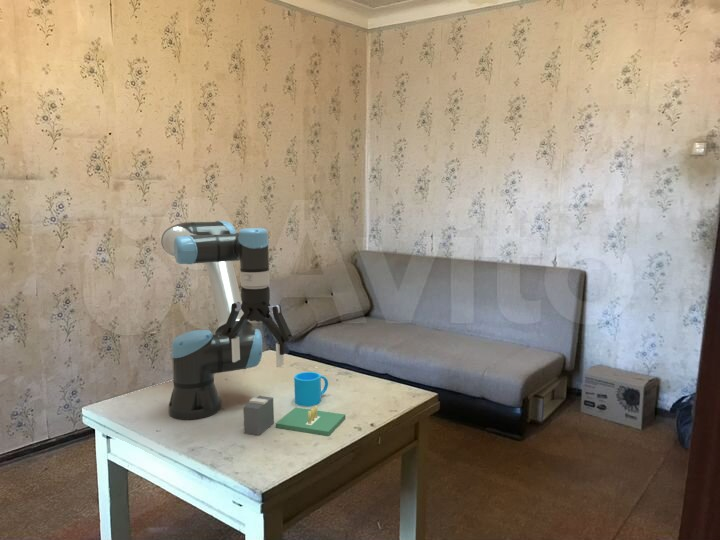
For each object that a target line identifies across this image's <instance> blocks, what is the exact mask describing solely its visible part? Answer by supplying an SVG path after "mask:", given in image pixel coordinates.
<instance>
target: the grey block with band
mask: <svg viewBox="0 0 720 540" xmlns="http://www.w3.org/2000/svg"><path fill="white" fill-rule="evenodd" d="M242 411H243V430H244V431H243V434H245V435H252V436H257V437H259V436H261V434H263V433H264V432H265V431H267V430H268V429H269V428H271V426H273V425H274V424H275V415H274V414H275V413H274V412H275V411H274V397H270V396H264V395H258V396H257V397H252V398H250V399H249V402H248V403H247V404H245V405H243V409H242Z"/></svg>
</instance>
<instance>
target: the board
mask: <svg viewBox="0 0 720 540" xmlns="http://www.w3.org/2000/svg"><path fill="white" fill-rule="evenodd" d="M344 420H346V414H344V413H337V412H330V411H326V410H325V411H324V410H318V405H314V406H313V407H312V408H303V407H302V408H301V407H297V406H296V407H294V408H292V410H290V411H289V412H287V414H286V415H284V416H283V417H282V418H280V419H279V420H278V421H277V422H276V423H275V428H278V429H284V430H289V431H295V432H302V433H308V434H315V435H321V436H326V437H330V435H331V434H332V433H334V431H335V430H336V429H337V428H338V427H339V426H340V425H341V424H342V423H343V422H344Z"/></svg>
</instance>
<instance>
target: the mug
mask: <svg viewBox="0 0 720 540" xmlns="http://www.w3.org/2000/svg"><path fill="white" fill-rule="evenodd" d="M293 379H294V380H293V382H294V387H293V388H294V404H296V405H297V406H300V407H314V406H318V405H320V403H322V396H323V395H324V394H325V393H326V391H327V389H328V387H329V381H328V378H327V377H326V376H324V375H321V374H320V373H318V372H313V371H303V372H299V373H296V374H295V375H294V376H293ZM322 380H323V381H324V386H323V389H322Z"/></svg>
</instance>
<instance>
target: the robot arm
mask: <svg viewBox="0 0 720 540" xmlns="http://www.w3.org/2000/svg"><path fill="white" fill-rule="evenodd" d="M160 238H161V239H160V242H161V243H160V244H161V247H162V249H163V250H164V251H165V253H167V254H168V255H169V256H173V257H174V258H175V262H176V263H177V264H178V265H193V264H203V265H204V266H206V270H207V274H208V279H209V285H210V289H211V293H212V298H213V304H214V308H215V313H216V319H217V324H218V326H217V327H216V329H215V333H214V334H213V332H212V331H211V330H208V329H197V330H191V331H188V332H185V333H182V334H179V335H178V336H177V337H175V338H174V339H173V341H171V354H170V356H171V357H170V358H171V361H172V379H173V388H172V392H171V396H170V400H169V403H168V415H169V416H170V417H172V418H174V419H178V420H197V419H202V418H203V419H204V418H207V417H210V416H213V415H214V414H216V413H218V412H219V411H220V410H221V409H222V398H221V396H220V395H219V391H218V389H217V386H216V383H215V374H219V373H227V372H233V371H240V370H241V371H242V370H247V369H251V368H255V367H258V365H259V364H260V362H261V361H262V356H263V335H262V332H261V330H260V329H258V328H254V327H253V323H252V322H258V323H259V322H262V323H263V325H265V326H266V328H267V329H268V330H269V332H270V333H271V335H272V336H273V337H274V338H275V339H276V341H277V342H276V343H275V356H276V357H275V358H276V359H275V362H276V368H280V367H283V366H284V364H285V358H284V355H286V354H287V342H289V341H291V340H293V339H294V337H293V335H292V333H291V330H290V328H289V327H288V324H287V322H286V321H287V320H286V319H285V318H284V314H283V313H282V307H281V305H280V304H277V305H271V304H270V300H271V294H270V293H271V292H270V291H271V290H270V289H271V288H270V287H269V285H270V259H269V258H270V257H269V252H270V251H269V243H270V241H269V235H268V230H267V229H266V228H260V227H245V228H241V229H240V230H239V232H237V230H236V228H235V227H234V225H233V224H232V223H231V222H229V221H221V220H215V221H198V222H197V221H193V222H192V221H187V222H180V223H176V224H174V225H172V226H170V227H168V228H167V229H166V230H164V232H163V234H162V236H161V237H160ZM236 261H237V262H239V269H240V270H239V271H240V273H239V274H240V286H242V287H241V289H240V288H239V284H238V280H237V276H236V271H235V268H234V263H233V262H236ZM270 312H271V314H272V315H271V314H270ZM272 316H273V317H272ZM273 318H274V319H273Z"/></svg>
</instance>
